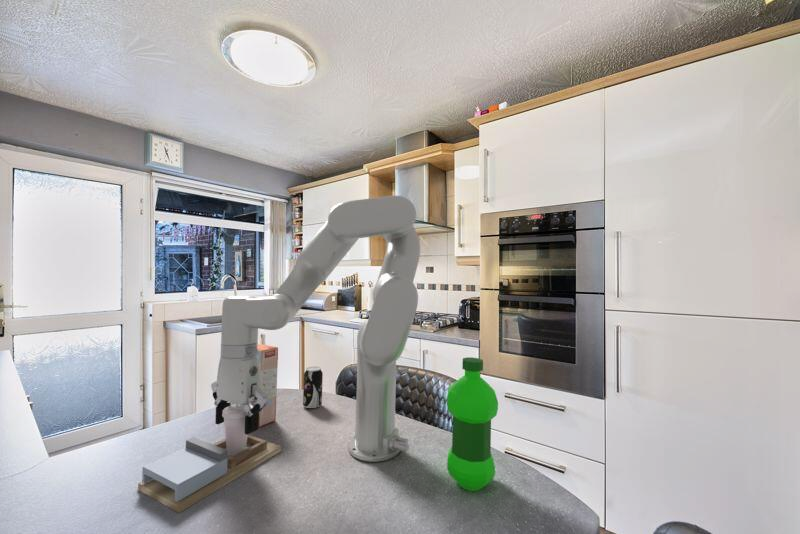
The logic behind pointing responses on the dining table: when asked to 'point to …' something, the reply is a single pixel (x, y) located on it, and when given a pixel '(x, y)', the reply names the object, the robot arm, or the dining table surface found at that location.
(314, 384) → the beverage can
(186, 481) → the lid
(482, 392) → the plastic bottle
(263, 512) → the dining table surface
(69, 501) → the dining table surface
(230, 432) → the smoothie
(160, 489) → the board
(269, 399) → the cracker box
